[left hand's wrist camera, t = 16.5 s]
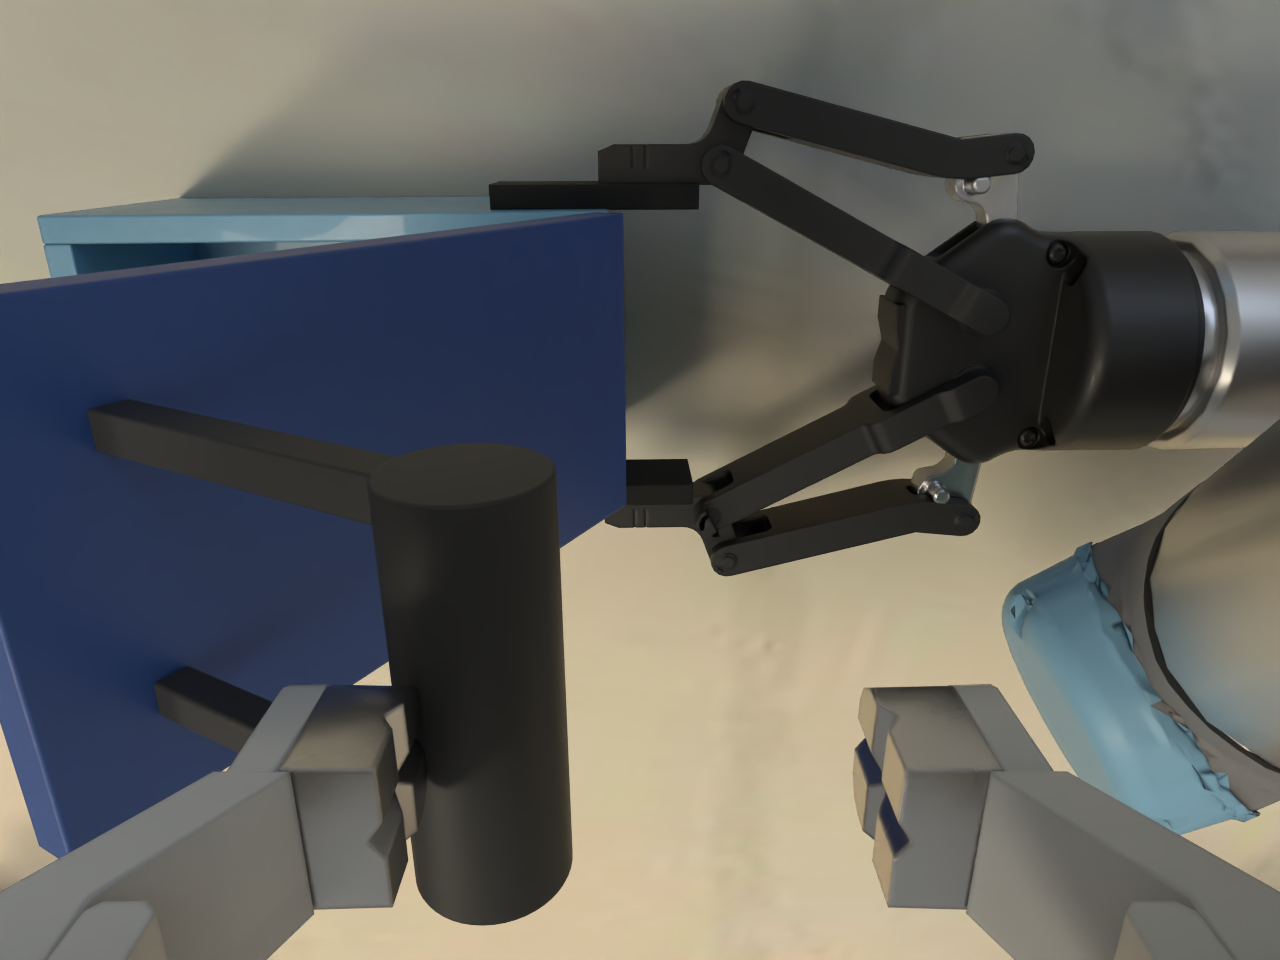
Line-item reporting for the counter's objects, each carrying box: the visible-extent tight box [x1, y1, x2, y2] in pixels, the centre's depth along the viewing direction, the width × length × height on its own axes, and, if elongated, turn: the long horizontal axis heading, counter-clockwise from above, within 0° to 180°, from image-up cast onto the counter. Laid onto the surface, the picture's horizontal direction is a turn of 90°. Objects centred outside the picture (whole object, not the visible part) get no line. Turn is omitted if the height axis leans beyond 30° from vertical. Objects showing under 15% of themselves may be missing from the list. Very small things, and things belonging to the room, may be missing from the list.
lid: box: [0, 212, 626, 925], centre depth 19 cm, size 18×9×9 cm
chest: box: [37, 196, 610, 278], centre depth 32 cm, size 17×9×9 cm, turn 90°
